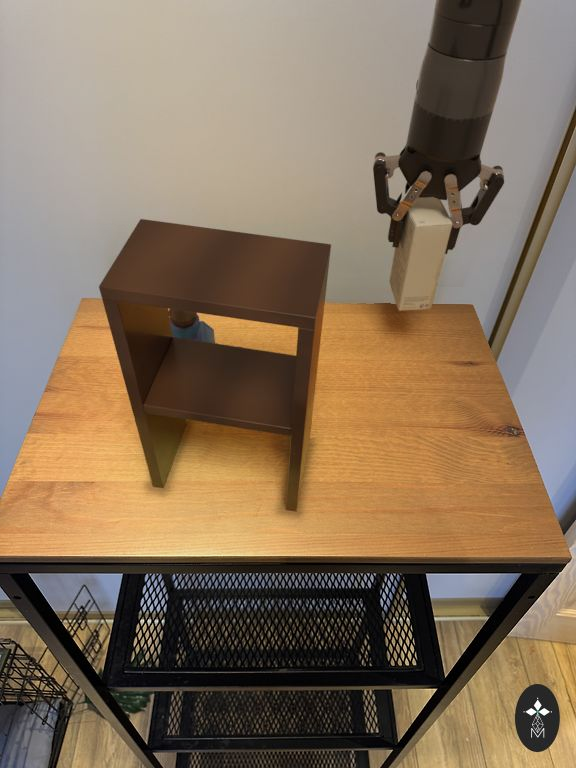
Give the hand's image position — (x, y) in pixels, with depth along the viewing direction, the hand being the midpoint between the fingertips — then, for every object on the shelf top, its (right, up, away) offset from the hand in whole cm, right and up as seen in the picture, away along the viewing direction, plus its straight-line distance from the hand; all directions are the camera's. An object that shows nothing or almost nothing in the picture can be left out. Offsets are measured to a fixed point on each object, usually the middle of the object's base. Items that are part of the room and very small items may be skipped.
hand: (419, 246), depth 67 cm
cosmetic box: (0, -5, +6) cm, 8 cm away
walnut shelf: (-22, -25, -3) cm, 34 cm away
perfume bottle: (-28, -16, +5) cm, 33 cm away
